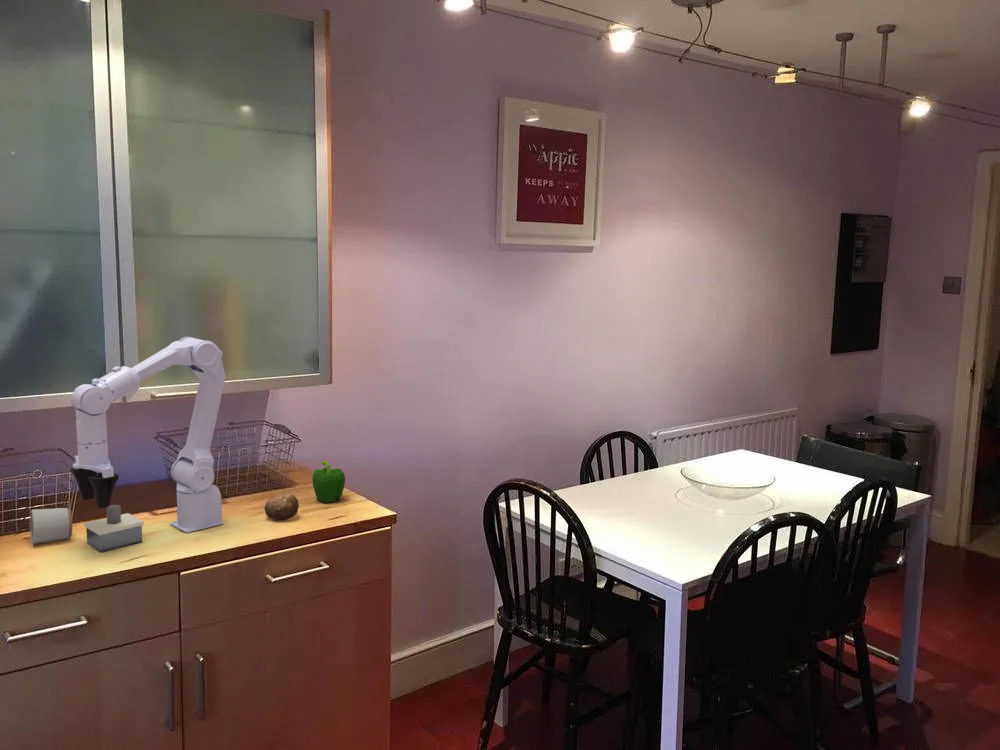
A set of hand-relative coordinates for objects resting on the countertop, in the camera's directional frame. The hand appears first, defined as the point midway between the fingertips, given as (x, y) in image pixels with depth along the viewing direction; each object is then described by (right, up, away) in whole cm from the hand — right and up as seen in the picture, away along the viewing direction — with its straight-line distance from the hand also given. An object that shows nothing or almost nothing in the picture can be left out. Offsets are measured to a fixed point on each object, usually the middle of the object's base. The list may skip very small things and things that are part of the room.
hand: (95, 503), depth 178 cm
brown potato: (+33, -8, +25) cm, 42 cm away
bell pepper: (+42, -6, +40) cm, 58 cm away
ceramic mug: (-13, -9, +6) cm, 17 cm away
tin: (+2, -10, +5) cm, 11 cm away
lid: (+2, -6, +4) cm, 7 cm away
